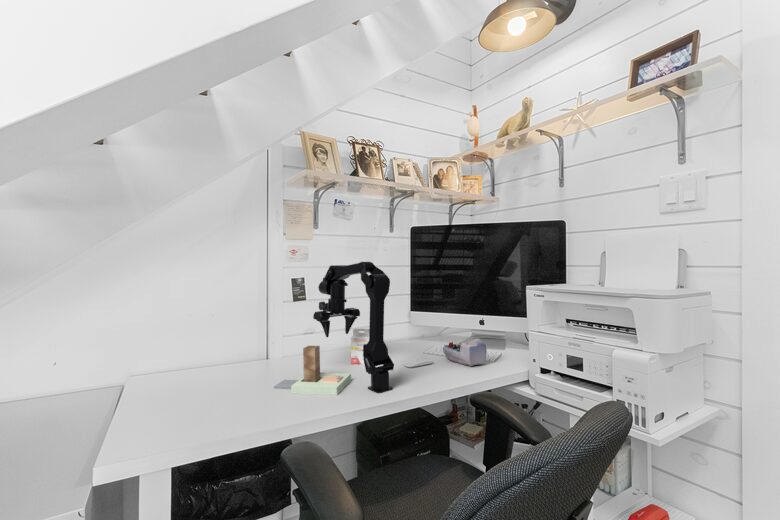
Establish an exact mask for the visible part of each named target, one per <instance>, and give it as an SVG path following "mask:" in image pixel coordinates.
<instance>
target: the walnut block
mask: <svg viewBox="0 0 780 520" xmlns="http://www.w3.org/2000/svg"><path fill="white" fill-rule="evenodd" d="M320 348H321V347H320V345H306V346H305V347H303V349H302V351H303V353H302V356H303V361H302V363H303V377H304V382H318V381H319V380H320V373H321V359H320V358H321V356H320V355H321V353H320V351H321V350H320Z"/></svg>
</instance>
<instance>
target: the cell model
mask: <svg viewBox="0 0 780 520" xmlns="http://www.w3.org/2000/svg"><path fill="white" fill-rule="evenodd" d="M442 352H443V354H444V355H445V357H446V359H447V360H449V361H450V362H453V363H459V364H461V365H463V366H469V367H473V366H476V365H485V364H486V361H487V360H486V359H487V346H486V344H485V342H484V341H482V339H481V338H474V339H471V340H469V341H465V342H464V341H463V342H459V343H456V342H455V343H454V342H449V343H448V344H444V346H443V347H442Z"/></svg>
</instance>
